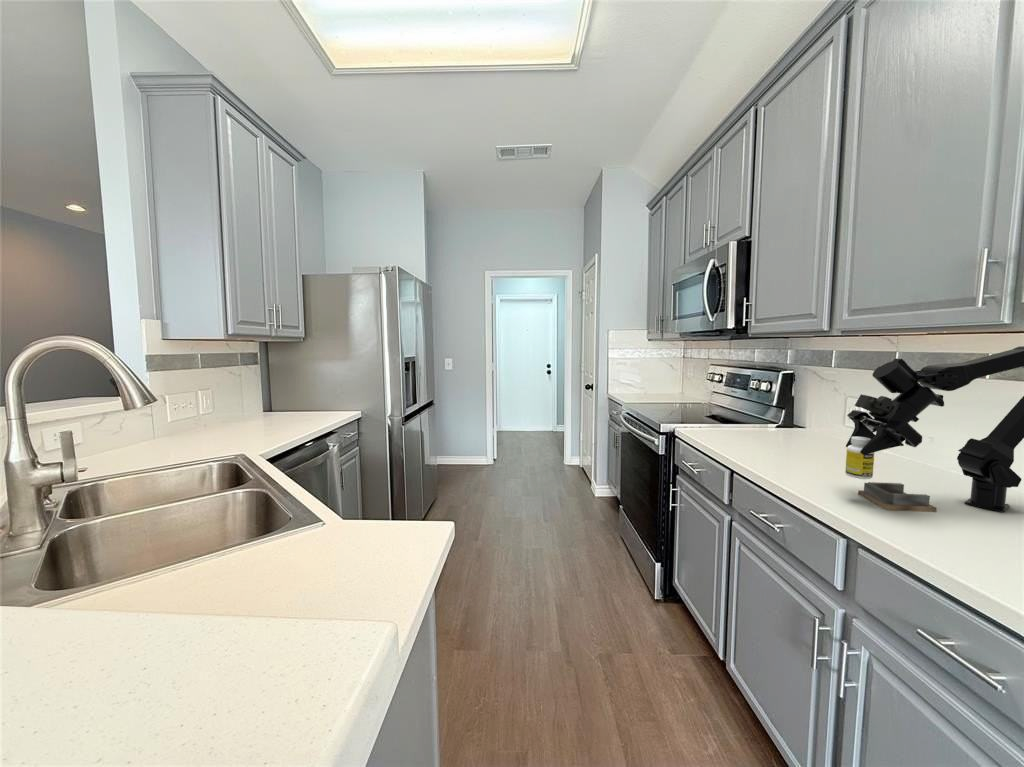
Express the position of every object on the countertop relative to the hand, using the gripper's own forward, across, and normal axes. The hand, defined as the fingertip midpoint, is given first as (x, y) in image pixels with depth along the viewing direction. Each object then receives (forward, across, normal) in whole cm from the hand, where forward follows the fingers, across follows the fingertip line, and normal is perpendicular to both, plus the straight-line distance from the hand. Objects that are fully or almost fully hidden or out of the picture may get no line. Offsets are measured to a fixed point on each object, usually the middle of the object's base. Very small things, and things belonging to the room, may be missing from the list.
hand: (854, 450), depth 109 cm
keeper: (+2, 0, +16) cm, 16 cm away
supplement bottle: (+4, 0, +6) cm, 7 cm away
